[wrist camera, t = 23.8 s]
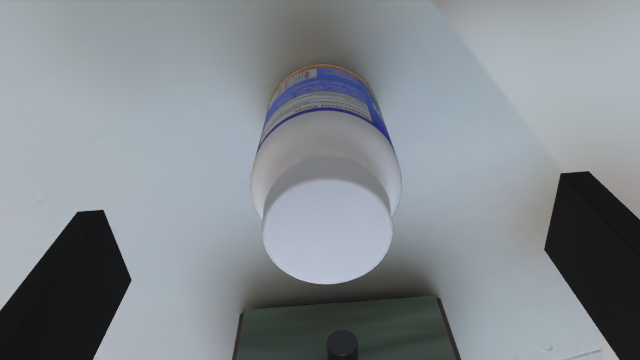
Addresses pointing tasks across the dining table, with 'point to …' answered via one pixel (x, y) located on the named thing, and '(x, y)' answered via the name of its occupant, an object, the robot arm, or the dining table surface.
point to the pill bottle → (325, 177)
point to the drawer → (347, 331)
